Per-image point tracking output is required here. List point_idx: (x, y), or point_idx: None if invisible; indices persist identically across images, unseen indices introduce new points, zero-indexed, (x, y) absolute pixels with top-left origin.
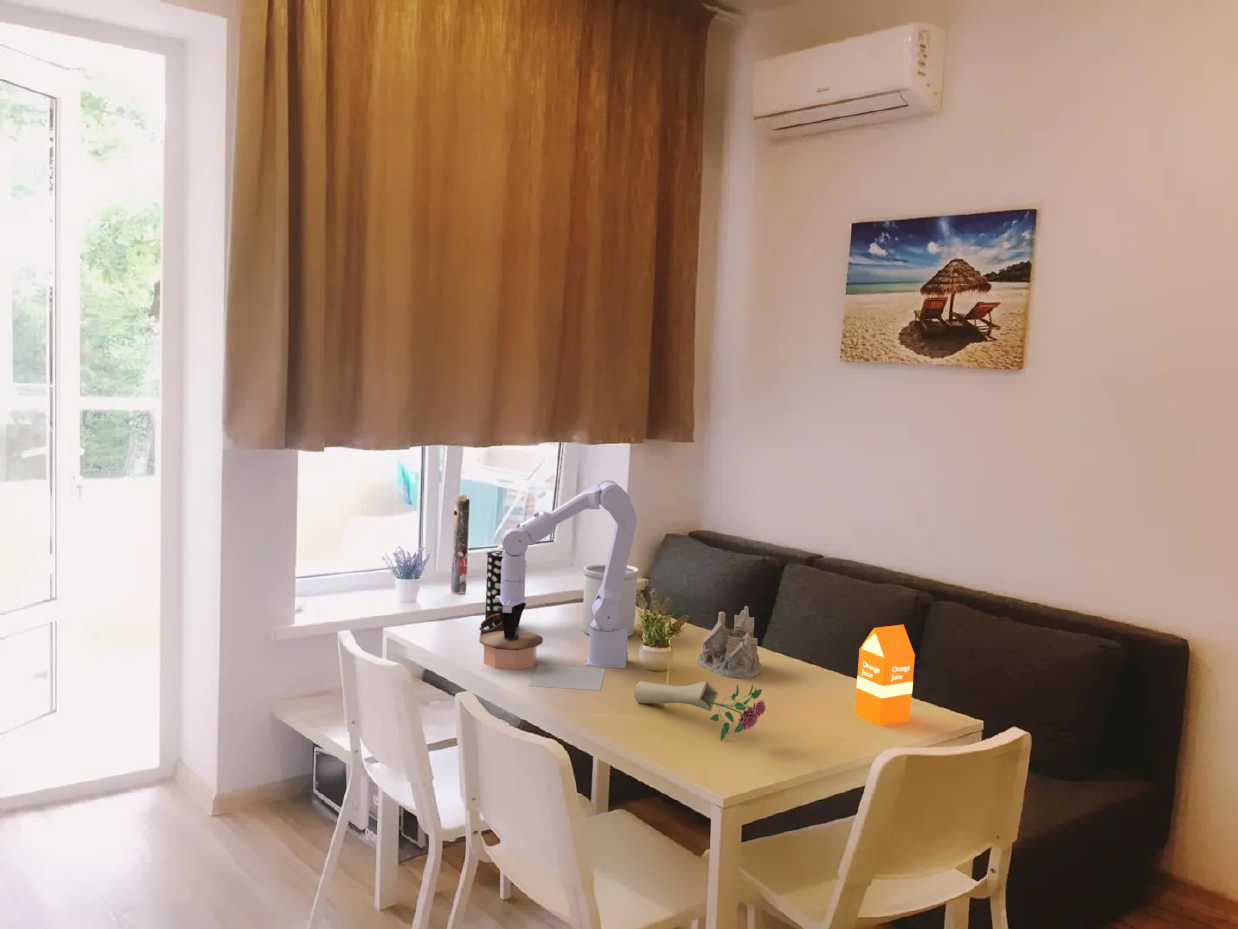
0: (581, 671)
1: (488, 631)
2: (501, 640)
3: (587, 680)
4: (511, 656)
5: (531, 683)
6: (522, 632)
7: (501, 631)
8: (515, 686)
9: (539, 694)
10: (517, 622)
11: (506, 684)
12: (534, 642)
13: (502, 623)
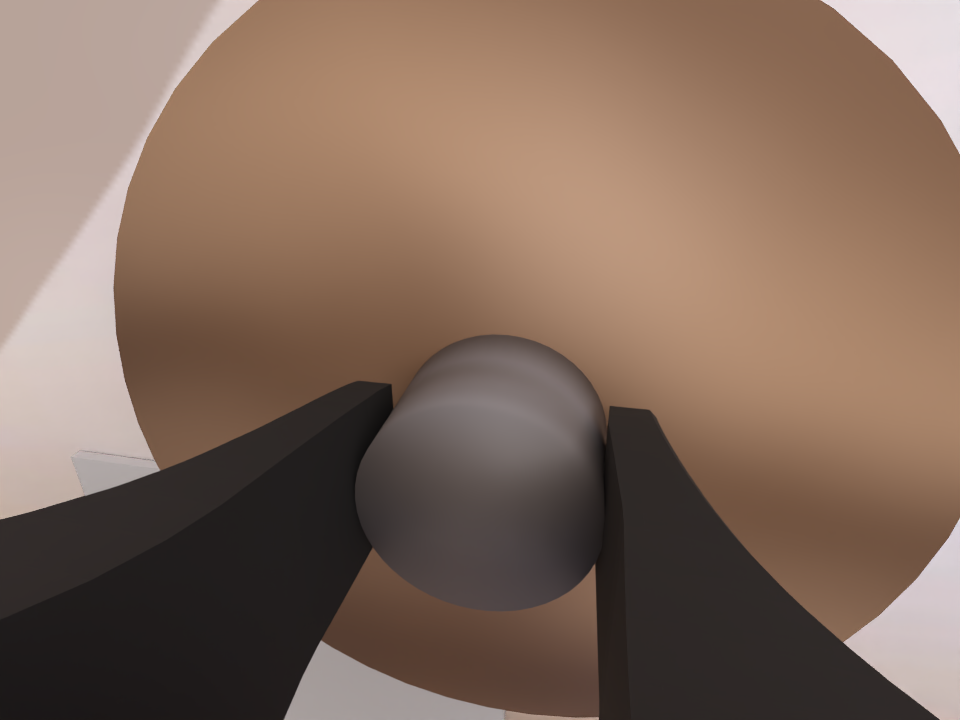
0: (424, 718)
1: None
2: (356, 319)
3: (284, 718)
4: None
5: (113, 473)
6: (870, 551)
7: (955, 254)
8: (62, 380)
9: (18, 501)
10: (600, 657)
11: (66, 324)
12: (379, 644)
13: (162, 470)
